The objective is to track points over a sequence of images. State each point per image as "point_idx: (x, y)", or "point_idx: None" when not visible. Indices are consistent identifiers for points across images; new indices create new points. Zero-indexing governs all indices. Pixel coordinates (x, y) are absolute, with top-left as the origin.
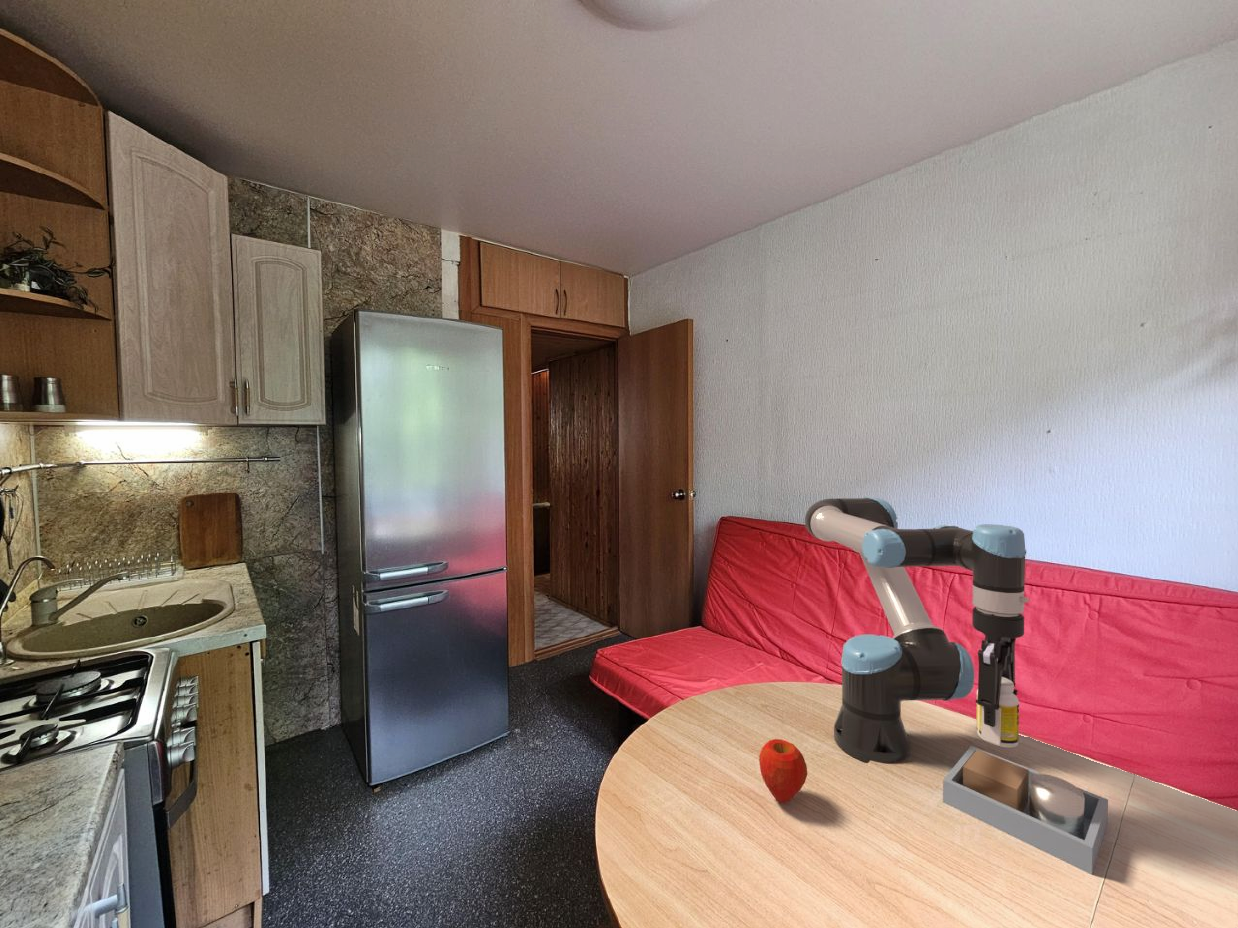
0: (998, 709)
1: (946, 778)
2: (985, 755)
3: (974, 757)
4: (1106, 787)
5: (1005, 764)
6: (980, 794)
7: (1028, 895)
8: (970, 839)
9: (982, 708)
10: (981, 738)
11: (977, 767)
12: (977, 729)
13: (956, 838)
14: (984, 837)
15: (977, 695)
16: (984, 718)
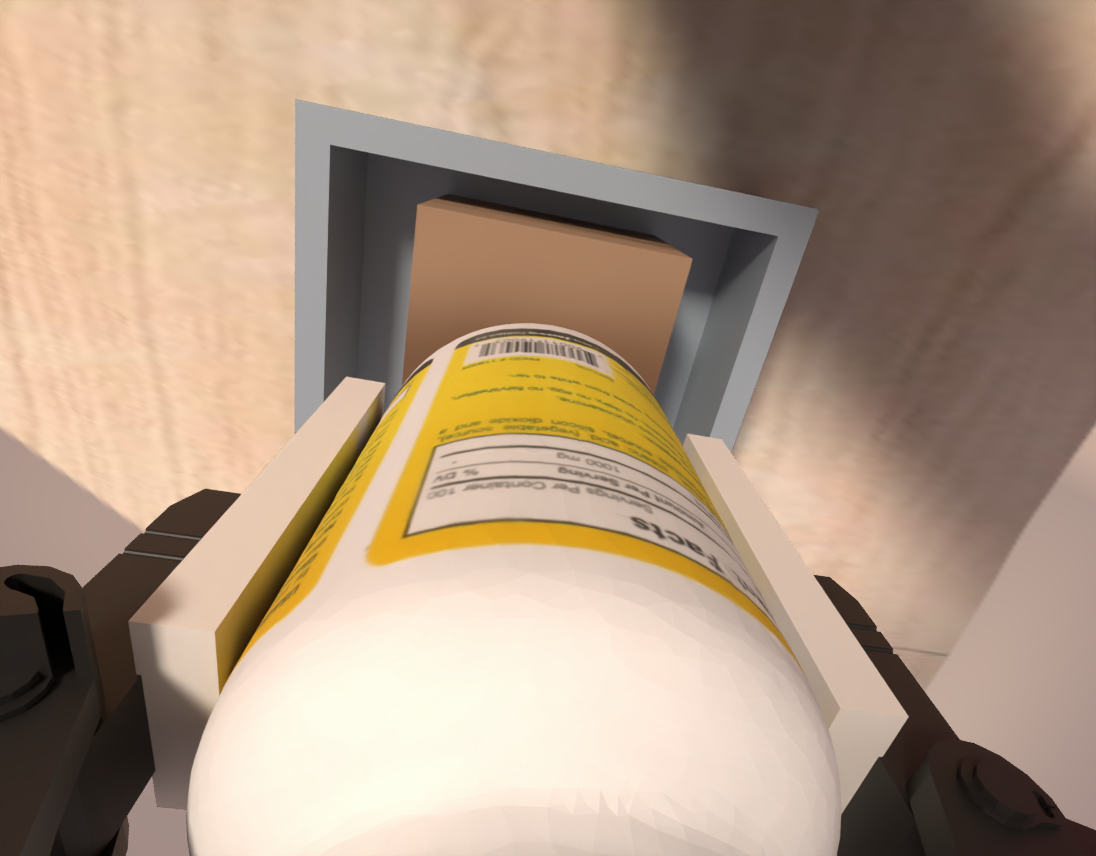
0: (154, 788)
1: (325, 116)
2: (646, 308)
3: (581, 254)
4: (882, 603)
5: None
6: (317, 295)
7: (96, 421)
8: (213, 246)
9: (184, 569)
10: (348, 377)
11: (472, 279)
12: (460, 344)
13: (169, 196)
14: (273, 291)
15: (377, 565)
16: (138, 536)
